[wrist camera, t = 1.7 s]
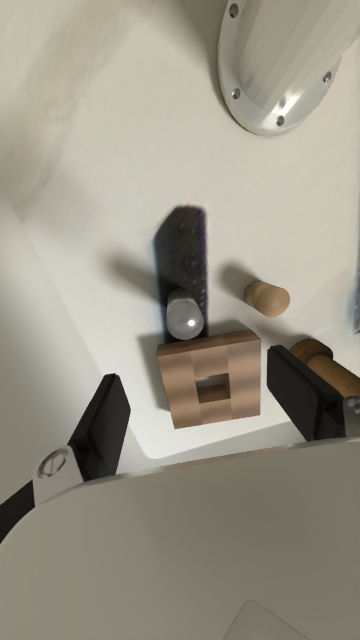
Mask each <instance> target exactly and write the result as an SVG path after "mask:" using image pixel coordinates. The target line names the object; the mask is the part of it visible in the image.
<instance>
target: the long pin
mask: <svg viewBox="0 0 360 640" xmlns="http://www.w3.org/2000/svg"><path fill="white" fill-rule="evenodd" d="M203 325H204V319H203V316H202V314H201V312H200V310H199V308H198V306H197V304H196V302H195V300H194V298H193V296H192V294H191V293H190V292H189V291H188V290H186V289H183V288H178V289H175V290H173V291H172V292H171V293H170V295H169V296H168V304H167V328H168V330H169V332H170V333H171V334H172V335H173V336H174V337H176V338H178V339H182V340H187V339H191V338H194V337H195V336H197V335H198V334H199V333H200V332H201V330H202V328H203Z"/></svg>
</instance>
